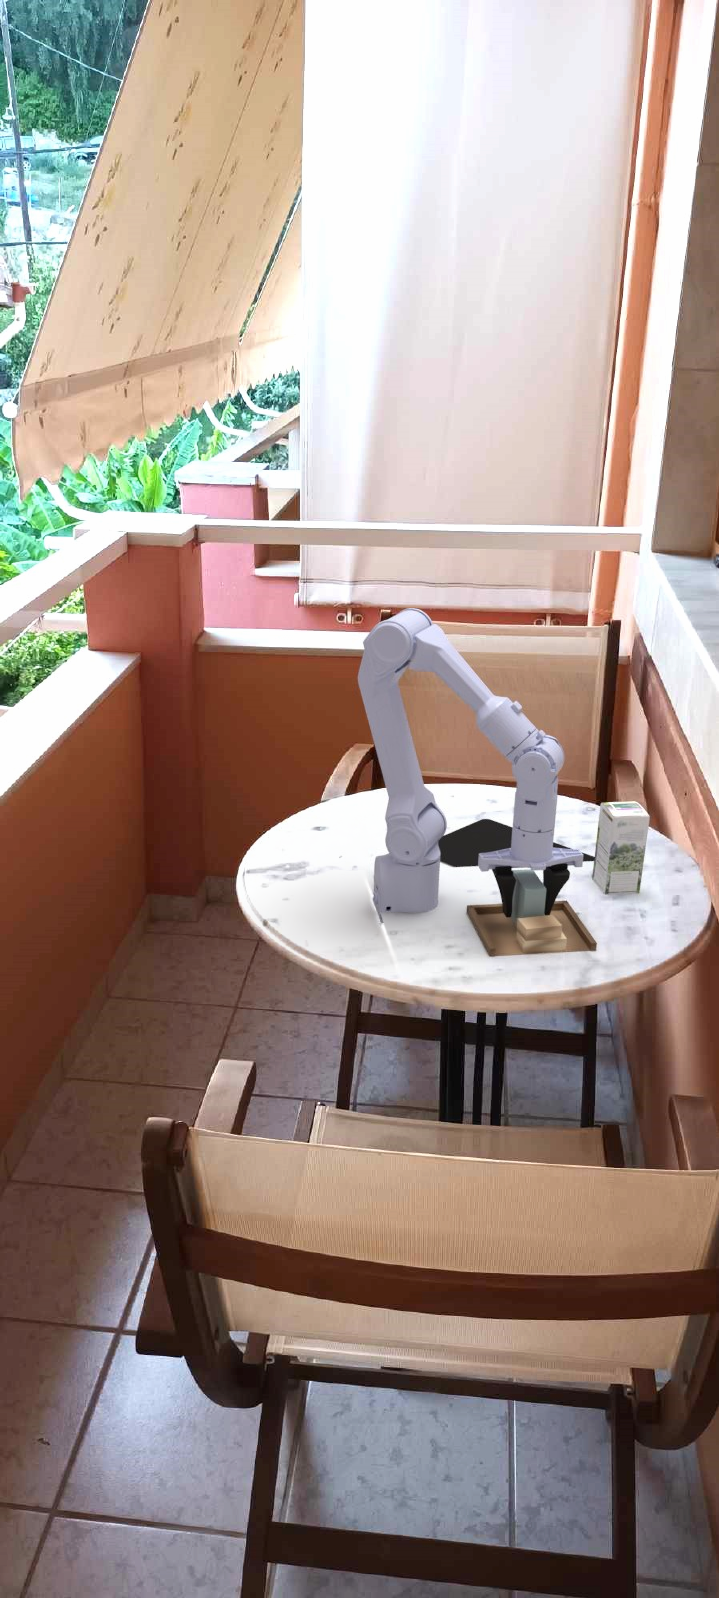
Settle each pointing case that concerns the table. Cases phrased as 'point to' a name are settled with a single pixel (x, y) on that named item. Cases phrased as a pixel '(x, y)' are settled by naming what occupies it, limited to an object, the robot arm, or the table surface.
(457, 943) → the table surface
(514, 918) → the sage green tall block
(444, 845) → the tablet
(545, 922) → the offcut upper
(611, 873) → the syrup box
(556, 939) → the offcut lower
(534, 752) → the robot arm
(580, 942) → the brown wooden tray
